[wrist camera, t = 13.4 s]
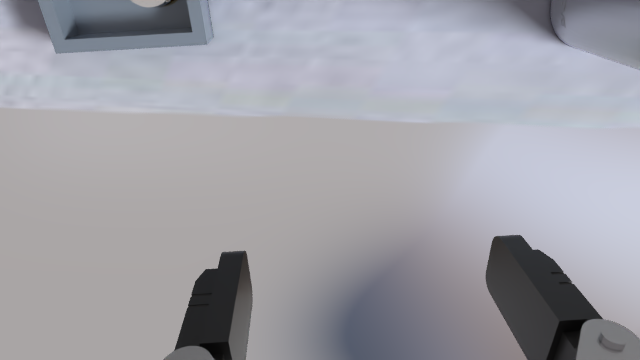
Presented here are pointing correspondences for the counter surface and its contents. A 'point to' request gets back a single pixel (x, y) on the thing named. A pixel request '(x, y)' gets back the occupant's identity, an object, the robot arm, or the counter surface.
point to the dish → (124, 24)
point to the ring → (154, 3)
